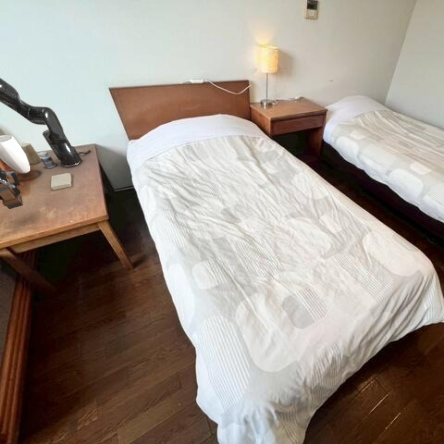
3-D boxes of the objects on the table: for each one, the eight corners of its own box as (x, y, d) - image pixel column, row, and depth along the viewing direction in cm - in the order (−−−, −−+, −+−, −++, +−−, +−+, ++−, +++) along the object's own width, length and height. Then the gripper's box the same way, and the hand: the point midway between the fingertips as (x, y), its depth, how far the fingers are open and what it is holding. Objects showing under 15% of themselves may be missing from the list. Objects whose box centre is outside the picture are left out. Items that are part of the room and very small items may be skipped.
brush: (7, 199, 109) (-6, 185, 104) (22, 195, 112) (10, 181, 107) (8, 210, 104) (-5, 196, 99) (24, 205, 107) (11, 192, 102)
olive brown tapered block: (35, 164, 147) (23, 146, 140) (28, 163, 147) (15, 146, 140) (42, 159, 151) (30, 142, 144) (35, 159, 151) (22, 142, 144)
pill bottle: (48, 168, 145) (39, 155, 139) (44, 166, 147) (35, 153, 141) (57, 165, 148) (49, 152, 142) (53, 163, 150) (45, 150, 144)
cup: (39, 168, 144) (13, 133, 130) (41, 177, 139) (14, 140, 124) (15, 174, 139) (-15, 137, 124) (16, 182, 133) (-15, 145, 119)
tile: (53, 179, 138) (51, 176, 137) (71, 175, 142) (69, 172, 141) (53, 190, 131) (50, 187, 130) (71, 186, 135) (69, 183, 134)
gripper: (3, 152, 100) (30, 186, 111) (-49, 162, 92) (-14, 198, 104) (4, 160, 96) (32, 195, 108) (-51, 171, 88) (-14, 207, 100)
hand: (9, 196), depth 106 cm, fingers closed on brush, 5 cm apart
